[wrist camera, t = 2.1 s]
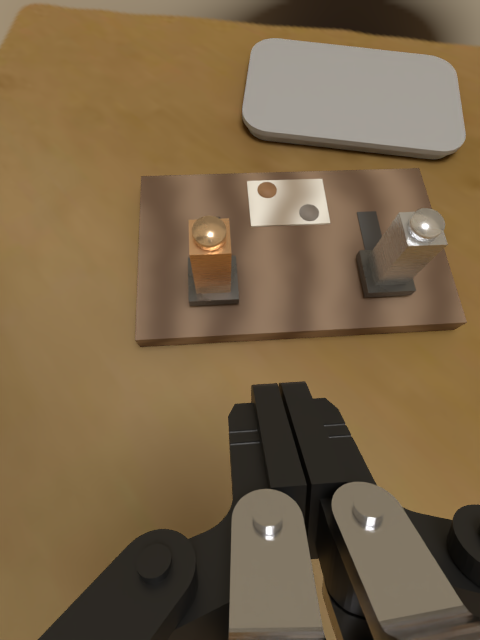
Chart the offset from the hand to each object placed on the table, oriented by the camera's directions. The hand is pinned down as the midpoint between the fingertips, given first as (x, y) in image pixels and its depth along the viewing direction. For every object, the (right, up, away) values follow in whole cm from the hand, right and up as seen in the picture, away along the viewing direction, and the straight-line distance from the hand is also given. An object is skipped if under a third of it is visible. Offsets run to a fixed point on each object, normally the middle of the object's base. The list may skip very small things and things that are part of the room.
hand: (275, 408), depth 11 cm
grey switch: (+12, +7, +24) cm, 28 cm away
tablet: (+13, +29, +35) cm, 48 cm away
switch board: (+4, +9, +27) cm, 29 cm away
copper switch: (-3, +6, +23) cm, 24 cm away
